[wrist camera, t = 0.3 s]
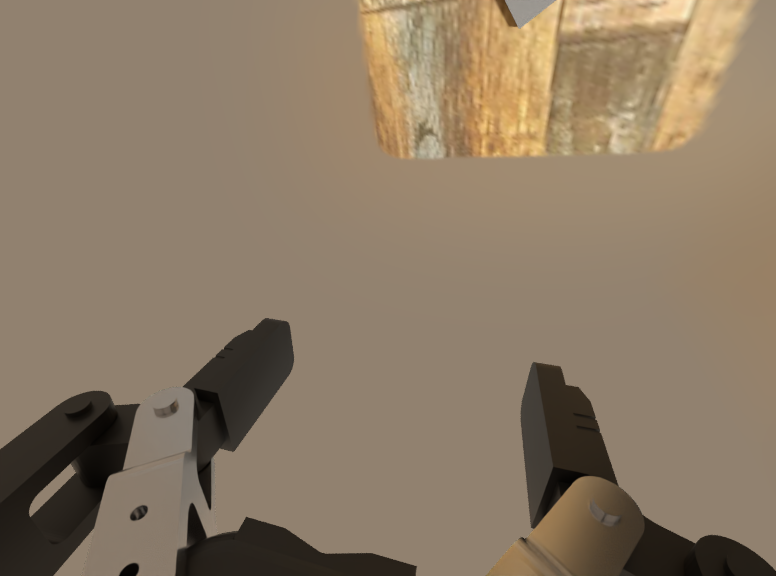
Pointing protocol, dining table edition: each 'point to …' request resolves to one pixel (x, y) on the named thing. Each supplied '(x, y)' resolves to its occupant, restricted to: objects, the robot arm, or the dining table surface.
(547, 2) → the sleeve stand
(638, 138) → the dining table surface
